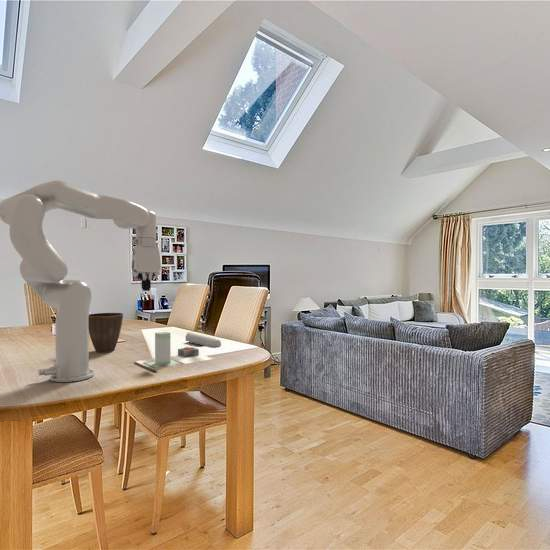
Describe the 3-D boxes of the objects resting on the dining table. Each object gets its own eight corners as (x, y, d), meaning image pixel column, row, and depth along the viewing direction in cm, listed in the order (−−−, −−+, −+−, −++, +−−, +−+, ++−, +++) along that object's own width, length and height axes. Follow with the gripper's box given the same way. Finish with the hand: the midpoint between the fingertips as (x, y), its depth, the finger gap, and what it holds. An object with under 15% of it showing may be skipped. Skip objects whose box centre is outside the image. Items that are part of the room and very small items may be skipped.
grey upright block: (160, 365, 137) (159, 334, 137) (155, 363, 140) (155, 332, 140) (170, 363, 140) (170, 332, 140) (165, 361, 143) (165, 331, 143)
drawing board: (153, 372, 131) (153, 362, 131) (134, 364, 144) (133, 354, 144) (216, 361, 147) (216, 352, 147) (194, 354, 160) (193, 346, 160)
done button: (186, 354, 152) (186, 348, 152) (182, 353, 155) (182, 347, 155) (193, 353, 154) (193, 347, 154) (189, 352, 157) (189, 346, 157)
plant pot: (120, 353, 163) (120, 315, 163) (82, 355, 160) (81, 316, 160) (125, 347, 178) (125, 312, 178) (90, 348, 174) (90, 313, 174)
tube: (224, 340, 174) (196, 333, 193) (215, 337, 171) (187, 330, 189) (221, 351, 173) (193, 343, 192) (212, 349, 170) (183, 341, 188)
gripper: (130, 241, 142) (130, 291, 142) (168, 243, 152) (168, 290, 152) (122, 242, 148) (123, 290, 148) (160, 244, 158) (160, 289, 158)
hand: (146, 290), depth 150 cm, fingers closed
